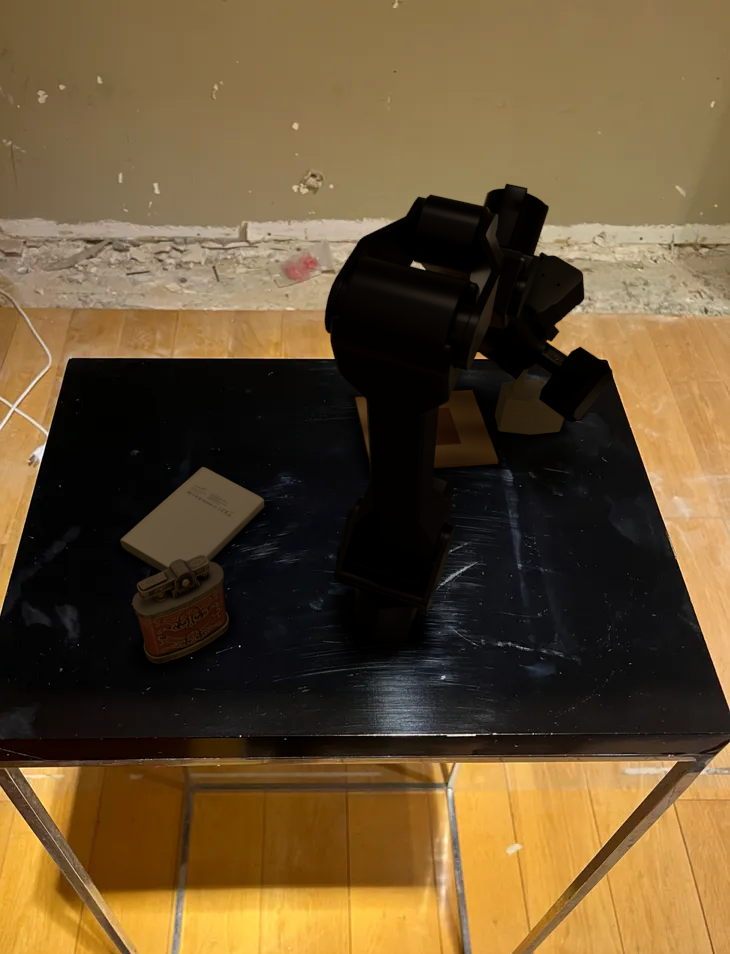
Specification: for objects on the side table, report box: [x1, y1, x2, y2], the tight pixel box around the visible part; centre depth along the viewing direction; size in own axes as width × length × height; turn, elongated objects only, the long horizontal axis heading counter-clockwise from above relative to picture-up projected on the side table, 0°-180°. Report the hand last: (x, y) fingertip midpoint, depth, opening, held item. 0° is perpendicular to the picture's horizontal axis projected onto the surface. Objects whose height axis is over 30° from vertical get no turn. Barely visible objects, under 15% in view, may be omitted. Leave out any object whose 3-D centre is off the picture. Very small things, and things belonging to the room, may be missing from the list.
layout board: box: [354, 389, 499, 469], centre depth 93 cm, size 12×14×1 cm
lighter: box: [132, 555, 230, 664], centre depth 71 cm, size 8×3×10 cm, turn 123°
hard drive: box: [120, 466, 265, 572], centre depth 82 cm, size 2×8×12 cm
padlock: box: [494, 353, 565, 436], centre depth 91 cm, size 7×4×10 cm, turn 91°
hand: (547, 372), depth 90 cm, fingers open, 9 cm apart
